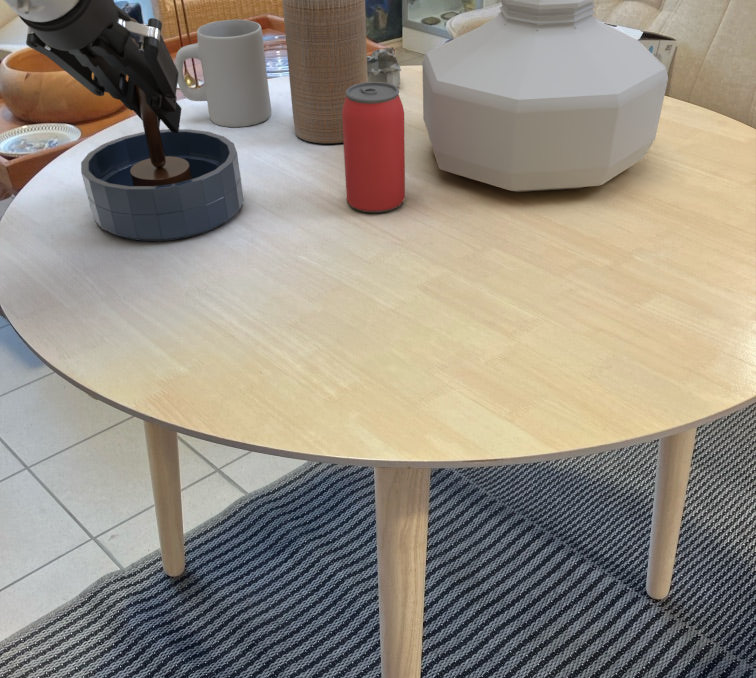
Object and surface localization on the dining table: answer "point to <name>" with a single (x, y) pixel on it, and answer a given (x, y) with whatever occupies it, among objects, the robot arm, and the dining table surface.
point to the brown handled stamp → (156, 152)
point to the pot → (542, 98)
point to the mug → (229, 72)
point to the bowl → (164, 187)
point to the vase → (323, 63)
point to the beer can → (374, 147)
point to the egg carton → (383, 67)
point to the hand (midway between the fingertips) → (166, 119)
